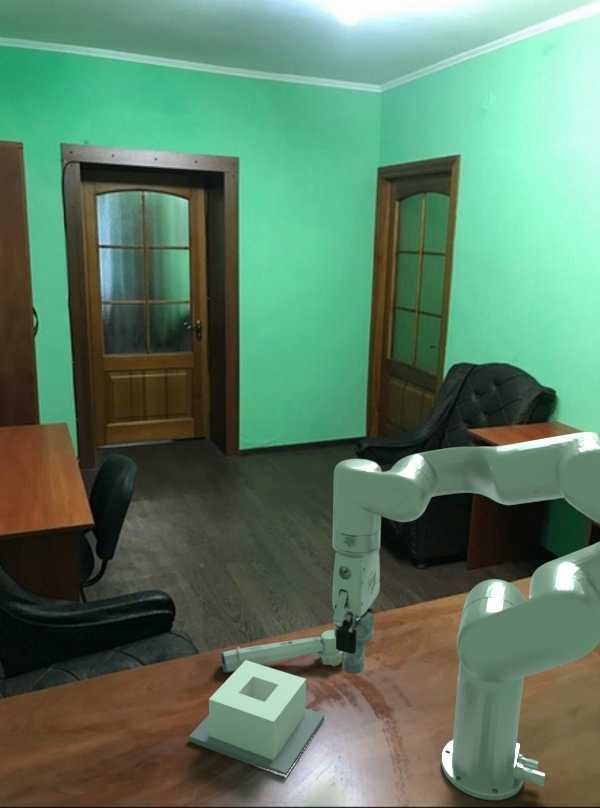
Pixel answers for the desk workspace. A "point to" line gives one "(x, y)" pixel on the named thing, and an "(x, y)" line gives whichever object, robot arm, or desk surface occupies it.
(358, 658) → the steel pin
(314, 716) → the hitch block
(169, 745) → the desk surface
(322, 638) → the white flashlight
